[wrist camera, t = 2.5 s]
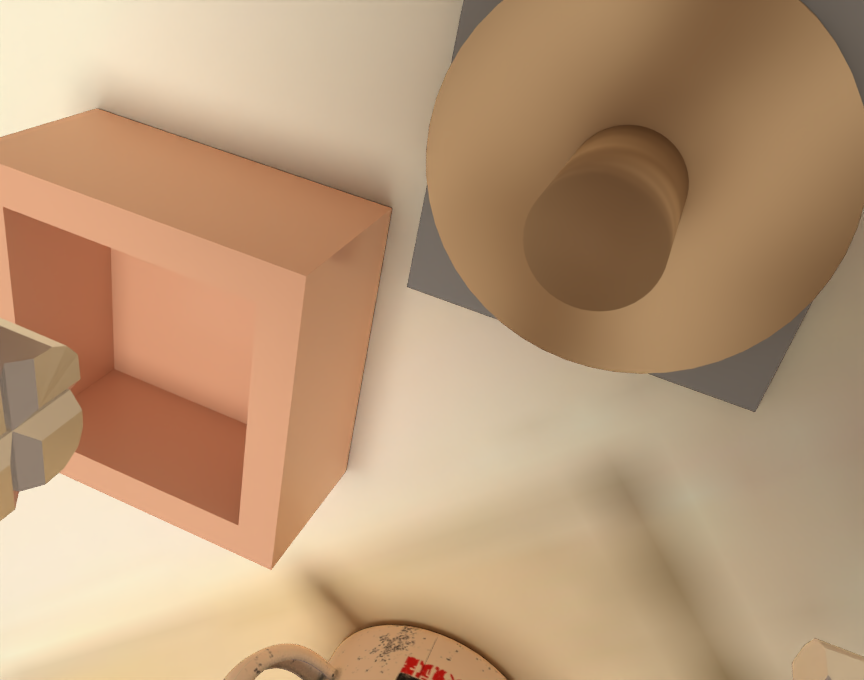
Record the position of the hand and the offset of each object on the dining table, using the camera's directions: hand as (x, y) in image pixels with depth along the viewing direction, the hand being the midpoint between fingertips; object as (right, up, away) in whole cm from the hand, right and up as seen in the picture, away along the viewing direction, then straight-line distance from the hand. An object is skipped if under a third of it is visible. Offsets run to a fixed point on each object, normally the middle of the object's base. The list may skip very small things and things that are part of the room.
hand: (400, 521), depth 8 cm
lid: (+5, +6, +11) cm, 13 cm away
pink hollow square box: (-6, +3, +18) cm, 19 cm away
